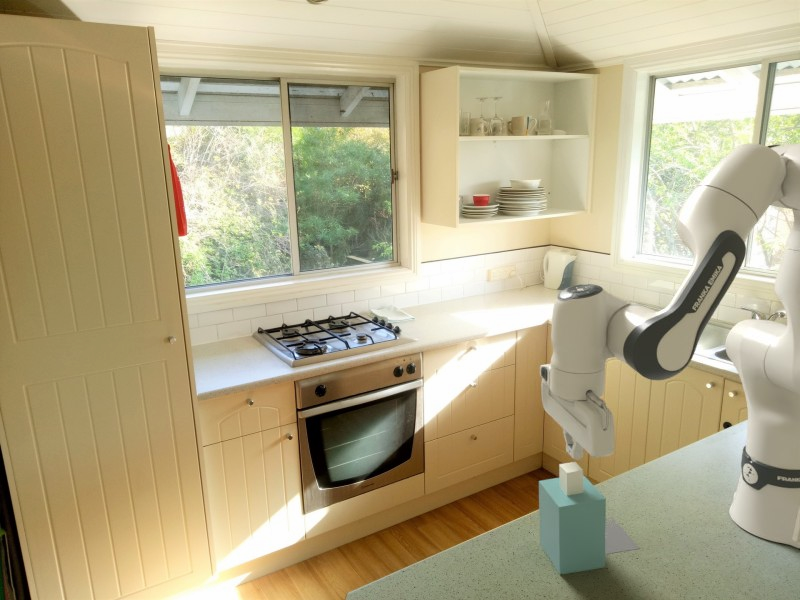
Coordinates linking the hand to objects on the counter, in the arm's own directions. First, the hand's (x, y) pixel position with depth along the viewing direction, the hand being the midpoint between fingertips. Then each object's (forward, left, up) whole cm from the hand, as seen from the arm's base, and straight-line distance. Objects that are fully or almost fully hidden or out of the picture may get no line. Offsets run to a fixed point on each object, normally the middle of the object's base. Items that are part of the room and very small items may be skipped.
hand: (574, 455), depth 104 cm
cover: (0, 0, -20) cm, 20 cm away
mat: (-8, -4, -20) cm, 22 cm away
